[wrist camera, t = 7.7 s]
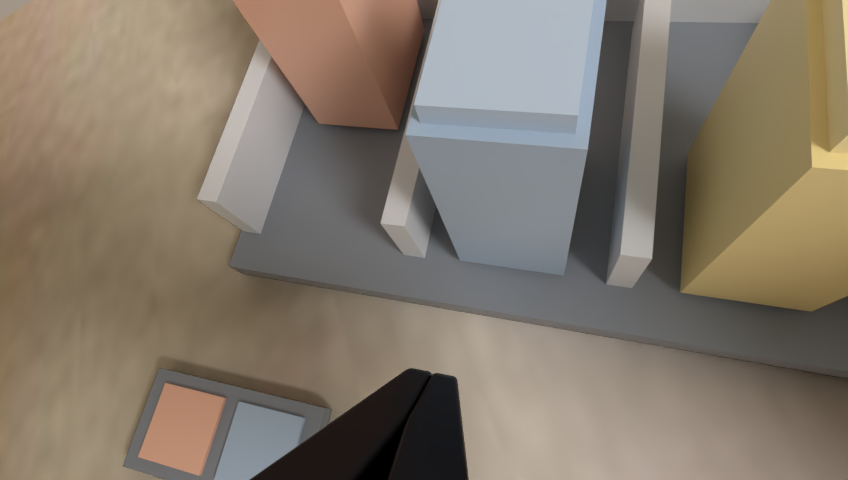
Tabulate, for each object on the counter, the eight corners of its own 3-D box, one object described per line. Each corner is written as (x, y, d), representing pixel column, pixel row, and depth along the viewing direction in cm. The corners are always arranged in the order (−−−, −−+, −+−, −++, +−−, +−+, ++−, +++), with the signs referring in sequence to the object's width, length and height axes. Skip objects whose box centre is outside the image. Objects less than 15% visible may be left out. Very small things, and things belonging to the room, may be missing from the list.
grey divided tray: (242, 273, 20) (178, 239, 17) (331, 13, 25) (296, -60, 21) (870, 382, 15) (983, 366, 11) (846, 19, 19) (921, -80, 15)
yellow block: (680, 292, 15) (832, 147, 8) (687, 152, 17) (820, -90, 9) (811, 311, 14) (1140, 169, 7) (806, 161, 16) (1069, -100, 8)
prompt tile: (135, 464, 18) (119, 466, 18) (169, 369, 19) (156, 367, 19) (303, 517, 17) (293, 521, 16) (331, 409, 18) (323, 408, 17)
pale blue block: (459, 260, 17) (397, 117, 9) (484, 136, 19) (449, -76, 11) (563, 275, 16) (591, 131, 8) (581, 143, 18) (617, -82, 10)
